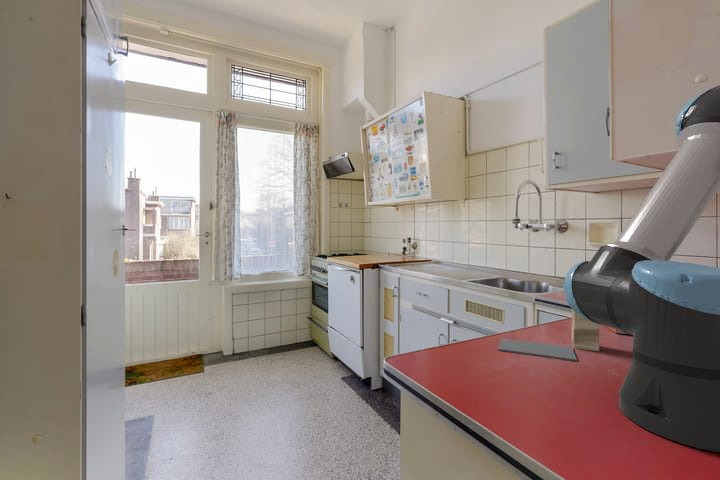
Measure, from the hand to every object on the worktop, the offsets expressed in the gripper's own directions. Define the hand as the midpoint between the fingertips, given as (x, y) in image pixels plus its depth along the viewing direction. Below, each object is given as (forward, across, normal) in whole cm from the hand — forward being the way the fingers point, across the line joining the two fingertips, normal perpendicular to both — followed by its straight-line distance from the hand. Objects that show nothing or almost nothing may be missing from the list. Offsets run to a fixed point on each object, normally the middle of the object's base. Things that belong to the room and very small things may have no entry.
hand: (633, 322), depth 78 cm
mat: (+21, -8, -7) cm, 23 cm away
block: (+10, 0, -7) cm, 12 cm away
